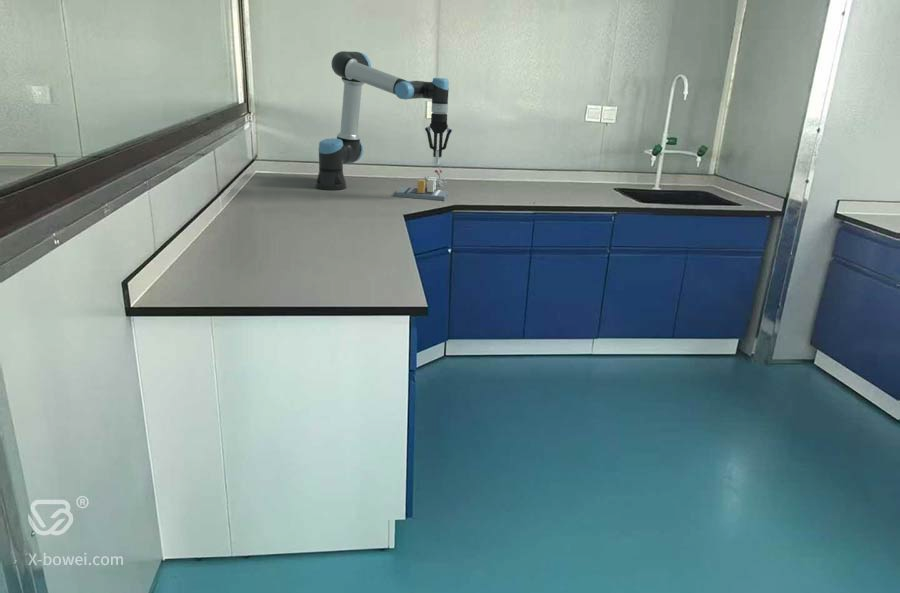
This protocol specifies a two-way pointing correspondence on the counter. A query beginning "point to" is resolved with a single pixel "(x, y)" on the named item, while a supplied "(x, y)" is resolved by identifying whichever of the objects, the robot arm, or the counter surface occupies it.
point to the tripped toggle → (421, 186)
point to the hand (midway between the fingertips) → (437, 164)
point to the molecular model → (437, 178)
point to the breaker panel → (428, 194)
